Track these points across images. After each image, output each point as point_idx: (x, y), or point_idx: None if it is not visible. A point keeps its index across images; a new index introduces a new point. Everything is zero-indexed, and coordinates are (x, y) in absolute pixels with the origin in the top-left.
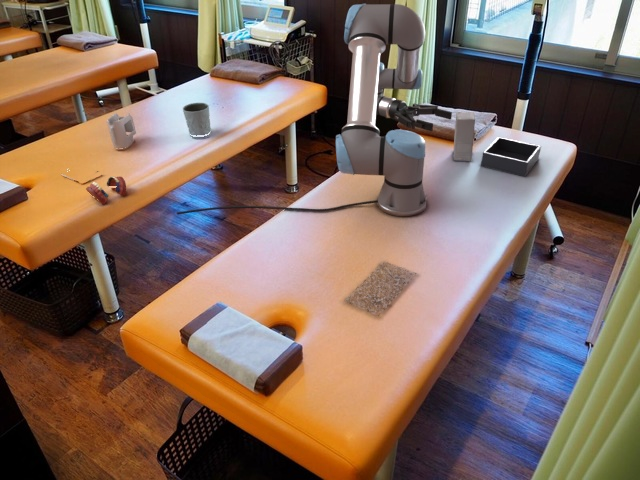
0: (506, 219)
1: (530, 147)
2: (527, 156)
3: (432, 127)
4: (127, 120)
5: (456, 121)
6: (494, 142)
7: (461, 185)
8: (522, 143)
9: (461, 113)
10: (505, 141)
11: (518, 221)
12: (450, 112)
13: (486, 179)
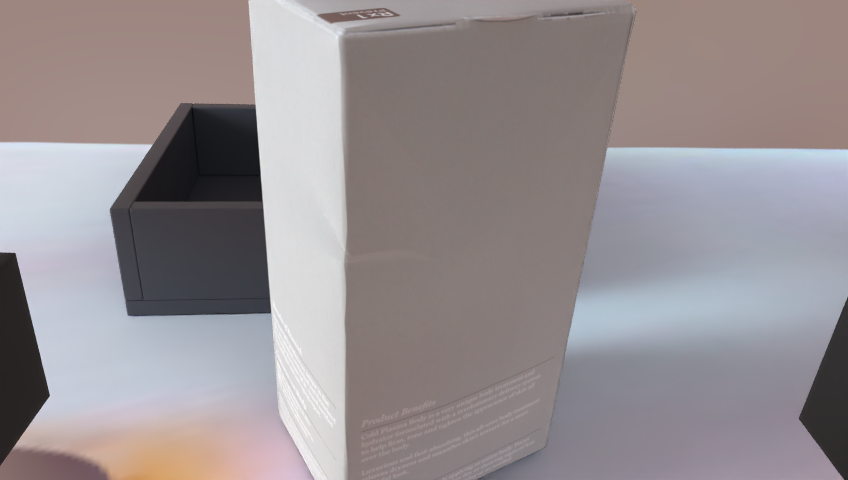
0: (793, 167)
1: (185, 136)
2: (195, 193)
3: (833, 361)
4: None
5: (597, 56)
6: (247, 203)
7: (792, 304)
8: (172, 140)
9: (382, 5)
10: (149, 196)
11: (760, 152)
12: (2, 261)
13: (598, 255)
